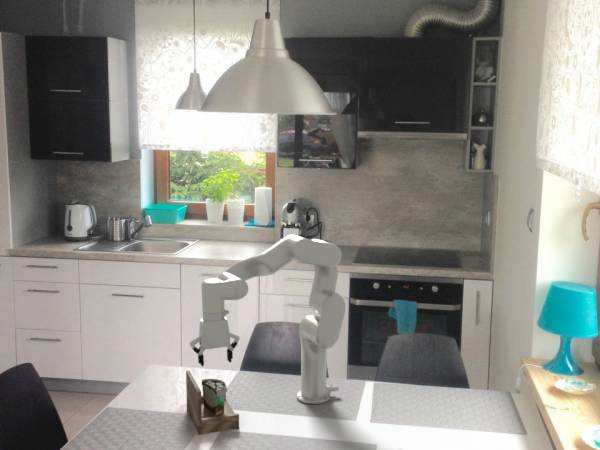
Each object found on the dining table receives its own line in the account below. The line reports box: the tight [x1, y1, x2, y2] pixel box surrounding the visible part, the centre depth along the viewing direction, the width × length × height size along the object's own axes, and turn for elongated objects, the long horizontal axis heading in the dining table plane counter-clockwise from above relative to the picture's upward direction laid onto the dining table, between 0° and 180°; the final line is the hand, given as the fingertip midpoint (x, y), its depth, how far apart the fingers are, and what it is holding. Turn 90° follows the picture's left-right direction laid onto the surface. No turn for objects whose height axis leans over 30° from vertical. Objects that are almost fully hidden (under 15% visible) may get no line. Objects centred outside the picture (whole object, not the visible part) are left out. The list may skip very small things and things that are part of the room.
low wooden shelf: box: [185, 370, 240, 436], centre depth 247 cm, size 14×20×15 cm
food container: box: [201, 378, 228, 417], centre depth 248 cm, size 12×6×10 cm, turn 33°
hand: (215, 362), depth 246 cm, fingers open, 9 cm apart
